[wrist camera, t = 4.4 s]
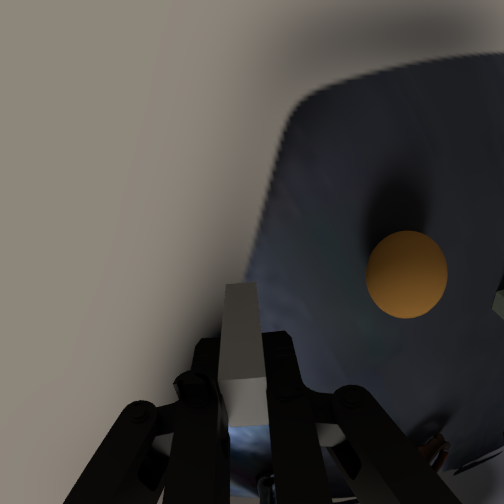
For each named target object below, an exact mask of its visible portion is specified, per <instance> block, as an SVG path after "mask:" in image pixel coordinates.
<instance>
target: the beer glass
mask: <svg viewBox="0 0 504 504" xmlns="http://www.w3.org/2000/svg"><path fill="white" fill-rule="evenodd" d="M256 484H257V488H258V492H259V498H260V504H277V503H276V493H275V482H274V472H273V471H268V472H264V473H262V474H260V475H258V476H257V477H256Z"/></svg>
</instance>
